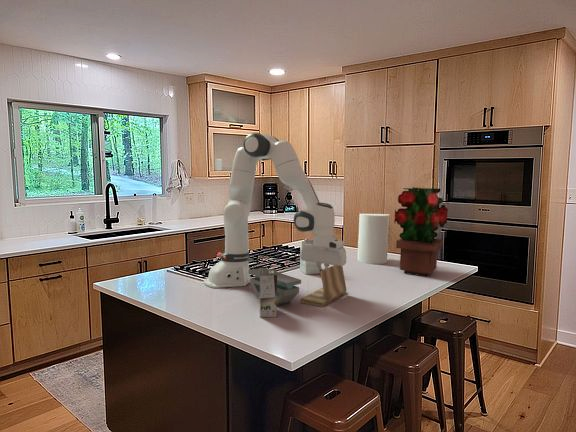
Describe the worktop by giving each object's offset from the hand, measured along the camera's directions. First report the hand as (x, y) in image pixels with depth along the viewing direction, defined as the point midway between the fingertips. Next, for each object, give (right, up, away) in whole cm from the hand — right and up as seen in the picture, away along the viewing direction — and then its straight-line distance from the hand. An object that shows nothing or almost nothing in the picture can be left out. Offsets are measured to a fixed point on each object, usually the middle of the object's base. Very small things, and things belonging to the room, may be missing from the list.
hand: (322, 273), depth 188 cm
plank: (+5, -3, -3) cm, 7 cm away
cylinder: (+35, -2, +73) cm, 81 cm away
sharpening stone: (-21, -11, -5) cm, 24 cm away
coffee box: (-22, -13, -20) cm, 33 cm away
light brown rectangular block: (+1, -10, +1) cm, 10 cm away
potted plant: (+55, -6, +48) cm, 73 cm away
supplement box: (-3, -5, +43) cm, 44 cm away
